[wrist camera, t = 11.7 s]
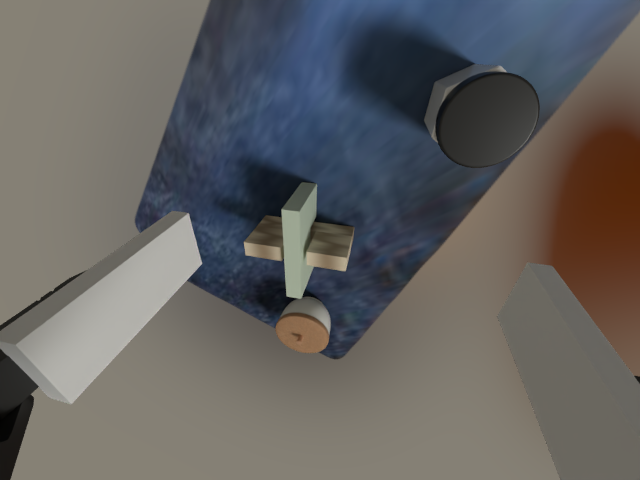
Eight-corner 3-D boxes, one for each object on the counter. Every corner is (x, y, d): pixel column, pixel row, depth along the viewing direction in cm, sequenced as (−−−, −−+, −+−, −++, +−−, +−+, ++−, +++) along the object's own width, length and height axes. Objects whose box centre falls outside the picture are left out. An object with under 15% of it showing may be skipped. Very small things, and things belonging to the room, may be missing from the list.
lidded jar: (284, 315, 64) (269, 350, 56) (290, 282, 58) (274, 316, 50) (329, 329, 63) (320, 366, 56) (340, 297, 57) (331, 334, 49)
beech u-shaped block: (267, 227, 52) (245, 255, 44) (265, 215, 50) (243, 242, 43) (352, 239, 49) (345, 271, 42) (354, 227, 48) (346, 257, 40)
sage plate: (301, 182, 45) (281, 209, 37) (316, 183, 45) (299, 211, 37) (302, 260, 54) (286, 296, 46) (315, 262, 54) (301, 299, 45)
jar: (409, 111, 36) (415, 130, 27) (462, 49, 32) (492, 44, 22) (458, 154, 38) (481, 187, 28) (515, 101, 33) (566, 118, 24)
